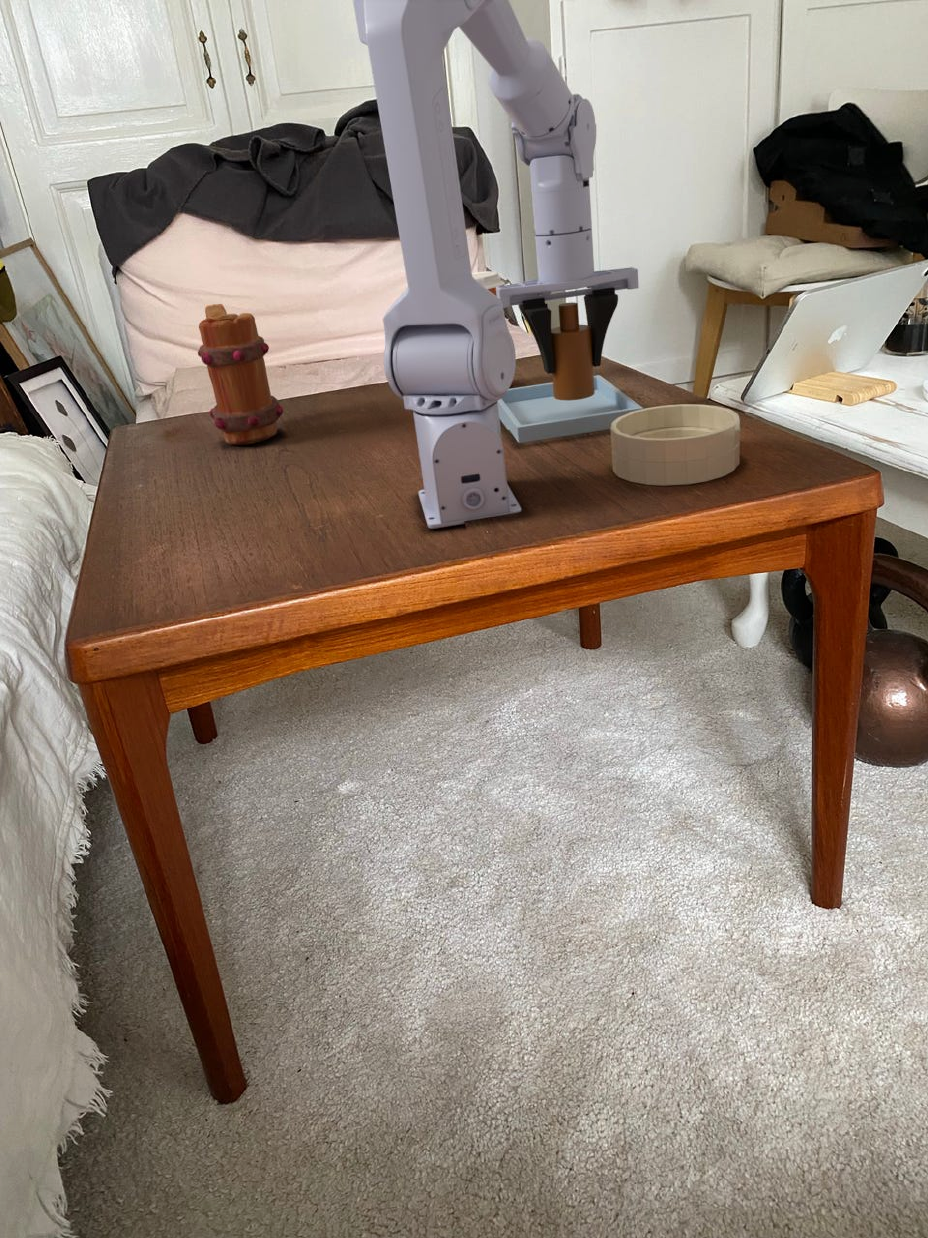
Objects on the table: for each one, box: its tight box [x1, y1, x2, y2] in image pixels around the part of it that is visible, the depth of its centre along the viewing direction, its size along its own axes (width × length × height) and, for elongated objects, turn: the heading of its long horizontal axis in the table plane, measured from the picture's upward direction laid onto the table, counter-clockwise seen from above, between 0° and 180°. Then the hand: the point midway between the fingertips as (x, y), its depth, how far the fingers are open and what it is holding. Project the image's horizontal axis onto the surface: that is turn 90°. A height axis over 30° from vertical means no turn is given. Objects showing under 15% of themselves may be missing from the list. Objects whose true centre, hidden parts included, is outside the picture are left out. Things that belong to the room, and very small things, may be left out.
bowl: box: [610, 403, 741, 487], centre depth 84 cm, size 11×11×4 cm
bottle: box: [551, 302, 595, 400], centre depth 101 cm, size 4×4×10 cm
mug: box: [197, 303, 284, 446], centre depth 112 cm, size 15×8×15 cm, turn 22°
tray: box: [498, 374, 644, 444], centre depth 105 cm, size 17×13×2 cm
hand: (572, 368), depth 101 cm, fingers closed on bottle, 4 cm apart
